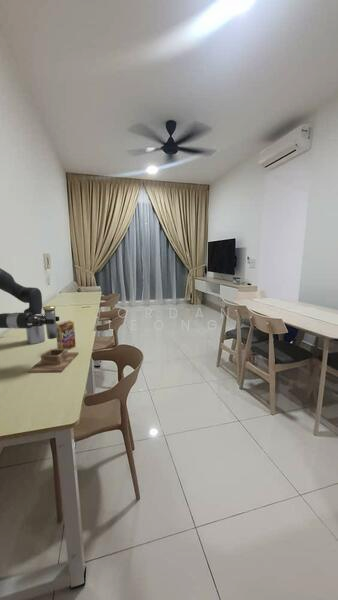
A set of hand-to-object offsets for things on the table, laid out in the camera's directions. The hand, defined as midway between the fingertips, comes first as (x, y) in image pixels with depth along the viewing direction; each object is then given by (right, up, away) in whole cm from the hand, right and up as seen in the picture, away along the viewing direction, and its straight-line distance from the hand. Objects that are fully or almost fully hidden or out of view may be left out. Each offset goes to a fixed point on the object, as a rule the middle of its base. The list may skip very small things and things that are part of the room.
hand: (56, 320), depth 114 cm
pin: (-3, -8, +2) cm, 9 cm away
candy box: (-4, -18, +22) cm, 29 cm away
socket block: (-2, -21, +4) cm, 22 cm away
